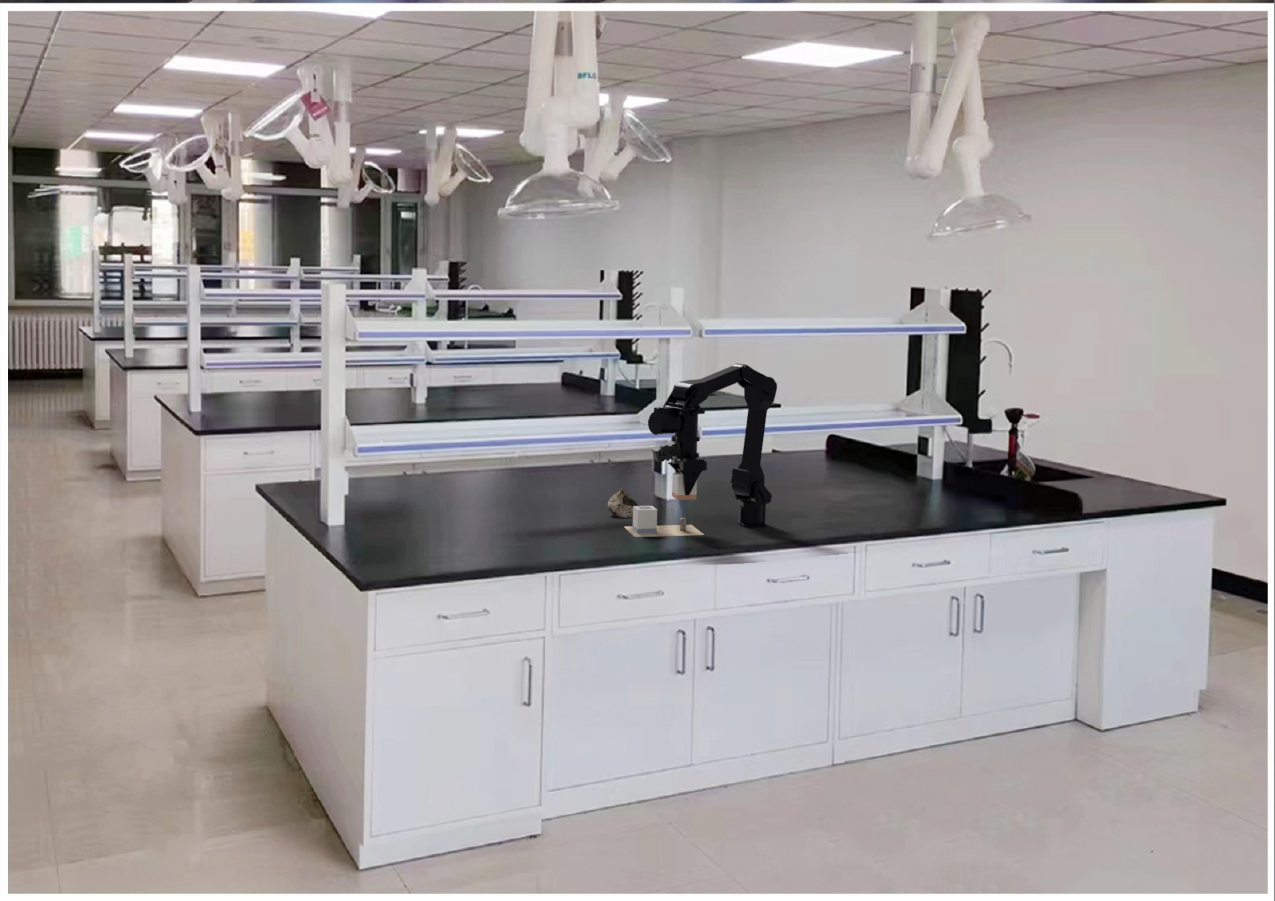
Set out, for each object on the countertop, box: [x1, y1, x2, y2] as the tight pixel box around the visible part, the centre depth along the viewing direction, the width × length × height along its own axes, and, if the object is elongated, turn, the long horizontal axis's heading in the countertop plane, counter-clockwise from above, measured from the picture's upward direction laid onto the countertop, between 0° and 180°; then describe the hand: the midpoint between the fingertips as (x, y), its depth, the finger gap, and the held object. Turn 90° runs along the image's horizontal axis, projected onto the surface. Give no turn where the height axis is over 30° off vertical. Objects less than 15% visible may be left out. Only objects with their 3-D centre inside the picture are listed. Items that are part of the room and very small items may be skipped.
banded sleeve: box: [671, 472, 698, 501], centre depth 322 cm, size 5×5×6 cm
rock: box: [607, 488, 641, 519], centre depth 342 cm, size 9×7×10 cm
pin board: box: [624, 517, 705, 538], centre depth 323 cm, size 18×12×4 cm, turn 104°
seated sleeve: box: [632, 505, 658, 534], centre depth 321 cm, size 5×5×6 cm
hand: (684, 493), depth 323 cm, fingers closed on banded sleeve, 5 cm apart
